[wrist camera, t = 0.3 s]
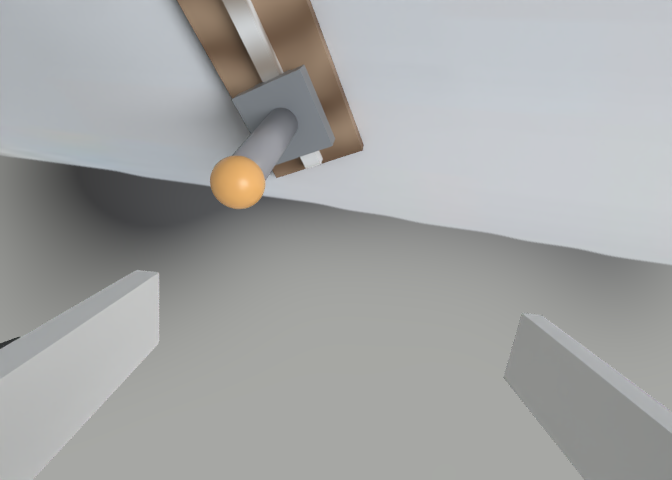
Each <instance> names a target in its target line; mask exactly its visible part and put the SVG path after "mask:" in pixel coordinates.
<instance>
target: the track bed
mask: <svg viewBox="0 0 672 480" xmlns="http://www.w3.org/2000/svg"><path fill="white" fill-rule="evenodd" d="M177 1H178V3H179V5H180V7H181V8H182V10H183V12H184V14H185V16H186V17H187V19H188V21H189V23H190V24H191V26H192V28H193V30H194V32H195V33H196V35H197V37H198V39H199V41H200V42H201V44H202V46H203V48H204V49H205V51H206V53H207V55H208V57H209V58H210V60H211V62H212V64H213V65H214V67H215V69H216V71H217V73H218V74H219V76H220V78H221V80H222V81H223V83H224V85H225V87H226V89H227V90H228V92H229V94H230V96H231V97H232V99H233V98H234V97H235V96H236V95H238V94H239V93H242V92H244V91H246V90H248V89H250V88H253V87H254V86H255V85H257V84H259V83H261V82H263V83H264V82H266V81H268V80H270V79H273V78H275V77H277V76H279V75H281V74H282V73H284V72H286V71H288V70H293V69H295V68H297V67H299V66H302V65H305V67H306V69H307V72H308V74H309V77H310V79H311V81H312V84H313V86H314V89H315V91H316V93H317V96H318V98H319V101H320V103H321V105H322V108H323V110H324V113H325V115H326V117H327V120H328V122H329V125H330V127H331V130H332V132H333V134H334V137H335V141H334V143H333V146H331V147H328V148H325V149H322V150H319V151H316V152H313V153H310V154H307V155H304V156H301V157H298V158H295V159H292V160H289V161H286V162H283V163H281V164H278V165H275V166H274V168H273V169H272V170H273V172H274V174H275V176H276V178H278V177H281V176H284V175H287V174H291V173H294V172H297V171H300V170H303V169H308V168H312V167H315V166H318V165H321V164H322V163H325V162H328V161H331V160H334V159H337V158H340V157H343V156H346V155H350V154H353V153H356V152H359V151H362V150H363V146H364V145H363V142H362V139H361V137H360V134H359V131H358V129H357V126H356V123H355V121H354V118H353V115H352V112H351V110H350V107H349V104H348V102H347V99H346V96H345V93H344V91H343V88H342V85H341V83H340V80H339V77H338V74H337V72H336V69H335V66H334V64H333V61H332V58H331V55H330V53H329V50H328V47H327V45H326V42H325V39H324V37H323V34H322V31H321V28H320V26H319V23H318V20H317V18H316V15H315V12H314V9H313V7H312V4H311V1H310V0H177Z"/></svg>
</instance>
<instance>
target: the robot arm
mask: <svg viewBox="0 0 672 480" xmlns="http://www.w3.org/2000/svg"><path fill="white" fill-rule="evenodd" d="M158 343H159V273H158V272H150V271H142V270H136V271H134V272H132V273H130V274H129V275H127V276H125V277H124V278H122V279H120V280H118V281H117V282H115V283H114V284H111V285H110V286H108V287H106V288H105V289H103V290H101V291H100V292H98V293H96V294H94V295H93V296H91V297H89V298H87V299H86V300H84V301H82V302H81V303H79V304H77V305H76V306H74V307H72V308H70V309H68V310H67V311H65V312H63V313H62V314H60V315H58V316H56V317H55V318H53V319H51V320H50V321H48V322H46V323H44V324H43V325H41V326H39V327H38V328H36V329H34V330H32V331H31V332H29V333H27V334H26V335H24V336H22V337H17V338H14V339H11V340H9V341H6V342H3V343H0V480H33V479H34V478H35V477H36V476H37V475H38V474H39V473H40V472H41V470H42V469H43V468H44V467H45V466H46V465H47V464H48V463H49V462H50V461H51V460H52V458H53V457H54V456H55V455H56V454H57V453H58V452H59V451H60V450H61V449H62V448H63V447H64V445H65V444H66V443H67V442H68V441H69V440H70V439H71V438H72V437H73V436H74V435H75V434H76V432H77V431H78V430H79V429H80V428H81V427H82V426H83V425H84V424H85V423H86V422H87V420H88V419H89V418H90V417H91V416H92V415H93V414H94V413H95V412H96V411H97V410H98V408H99V407H100V406H101V405H102V404H103V403H104V402H105V401H106V400H107V399H108V398H109V397H110V396H111V394H112V393H113V392H114V391H115V390H116V389H117V388H118V387H119V386H120V385H121V383H122V382H123V381H124V380H125V379H126V378H127V377H128V376H129V375H130V374H131V373H132V372H133V371H134V369H135V368H136V367H137V366H138V365H139V364H140V363H141V362H142V361H143V360H144V359H145V357H146V356H147V355H148V354H149V353H150V352H151V351H152V350H153V349H154V348H155V347H156V345H157V344H158ZM504 379H505V380H506V381H507V383H508V384H509V385H510V387H511V388H512V389H513V390H514V392H515V393H516V394H517V395H518V397H519V398H520V399H521V400H522V402H524V404H525V405H526V407H527V408H528V409H529V411H530V412H531V413H532V414H533V416H534V417H535V418H536V419H537V421H538V422H539V423H540V424H541V426H542V427H543V428H544V429H545V431H546V432H547V433H548V434H549V436H550V437H551V438H552V440H553V441H554V442H555V443H556V445H558V447H559V448H560V449H561V451H562V452H563V453H564V455H565V456H566V457H567V458H568V460H569V461H570V462H571V463H572V465H573V466H574V467H575V468H576V470H577V471H578V472H579V473H580V475H581V476H582V477H583V478H584V480H672V411H671V410H670V409H668V408H667V407H665V406H664V405H663V404H661V403H660V402H659V401H657V400H656V399H654V398H653V397H652V396H650V395H649V394H648V393H647V392H645V391H644V390H642V389H641V388H640V387H638V386H637V385H636V384H634V383H633V382H632V381H630V380H629V379H627V378H626V377H625V376H623V375H622V374H621V373H619V372H618V371H617V370H615V369H614V368H613V367H611V366H610V365H609V364H607V363H606V362H604V361H603V360H602V359H601V358H599V357H598V356H596V355H595V354H594V353H592V352H591V351H590V350H588V349H587V348H586V347H584V346H583V345H581V344H580V343H579V342H578V341H576V340H575V339H573V338H572V337H571V336H569V335H568V334H567V333H565V332H564V331H563V330H561V329H560V328H559V327H557V326H556V325H554V324H553V323H552V322H550V321H549V320H548V319H546V318H545V317H543V316H542V315H536V314H527V313H522V315H521V318H520V322H519V325H518V329H517V332H516V335H515V339H514V342H513V346H512V349H511V353H510V357H509V360H508V363H507V367H506V370H505V374H504Z"/></svg>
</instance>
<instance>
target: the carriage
mask: <svg viewBox="0 0 672 480" xmlns="http://www.w3.org/2000/svg"><path fill="white" fill-rule="evenodd" d="M231 100H232V101H233V103H234V105H235V107H236V108H237V110H238V112H239V114H240V116H241V117H242V119H243V121H244V123H245V124H246V126H247V128H248V130H249V132H250V133H251V135H250V136H249V137H248V138H247V139H246V141H245V142H244V143H243V144H242V145H241V146H240V147H239V148H238V149H237V151H236V152H235V153H234V154H233V155H232V156H229V157H226V158H224V159H222V160H221V161H219V162H218V163H217V164H216V165H215V167H214V168H213V170H212V173H211V177H210V185H211V189H212V192H213V194H214V195H215V197H216V198H217V199H218V200H219V201H220V202H221V203H222V204H224V205H225V206H228V207H230V208H234V209H244V208H248V207H250V206H252V205H254V204H255V203H257V202H258V201H259V200H260V198H261V197H262V195H263V193H264V189H265V180H266V179H267V177H268V176H269V174H270V173H271V171H272V169H273V168H274V166H275V165H278V164H281V163H283V162H286V161H289V160H292V159H295V158H298V157H301V156H304V155H307V154H310V153H313V152H316V151H319V150H322V149H325V148H328V147H331V146H333V143H334V141H335V137H334V134H333V132H332V130H331V127H330V125H329V122H328V120H327V117H326V115H325V113H324V110H323V108H322V105H321V103H320V101H319V98H318V96H317V93H316V91H315V89H314V86H313V84H312V81H311V79H310V77H309V74H308V72H307V69H306V67H305V65H302V66H299V67H297V68H295V69H293V70H288V71H286V72H284V73H282V74H281V75H279V76H277V77H275V78H273V79H270V80H268V81H266V82H264V83H263V82H261V83H259V84H257V85H255V86H254V87H253V88H250V89H248V90H246V91H244V92H242V93H239V94H238V95H236V96H235V97H234V98H233V99H231Z"/></svg>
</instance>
